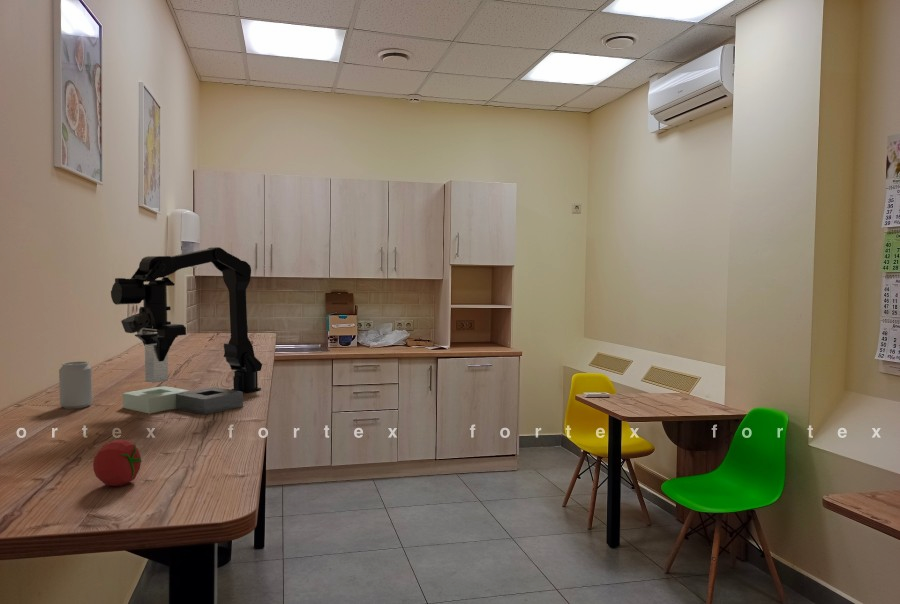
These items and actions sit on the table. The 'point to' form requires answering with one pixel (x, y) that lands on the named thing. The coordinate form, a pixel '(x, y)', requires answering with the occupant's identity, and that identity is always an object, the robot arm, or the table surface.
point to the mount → (209, 400)
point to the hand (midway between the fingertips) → (156, 360)
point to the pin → (155, 365)
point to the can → (75, 385)
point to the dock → (152, 399)
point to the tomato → (117, 463)
